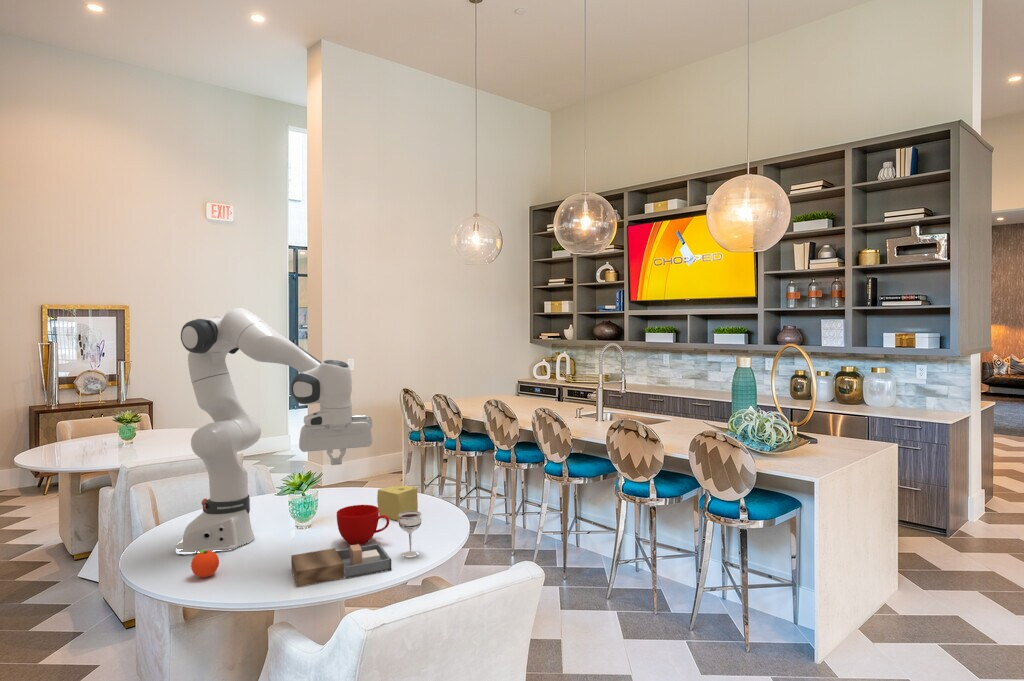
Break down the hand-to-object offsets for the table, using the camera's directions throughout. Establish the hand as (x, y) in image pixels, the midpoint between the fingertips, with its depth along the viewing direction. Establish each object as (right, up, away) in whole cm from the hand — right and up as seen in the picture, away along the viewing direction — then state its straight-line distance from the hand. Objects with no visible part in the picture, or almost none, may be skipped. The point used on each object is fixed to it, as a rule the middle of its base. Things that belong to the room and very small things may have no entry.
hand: (336, 464), depth 177 cm
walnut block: (-3, -28, -9) cm, 30 cm away
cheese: (+10, -28, +43) cm, 52 cm away
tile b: (+6, -25, -5) cm, 26 cm away
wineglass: (+21, -28, +5) cm, 35 cm away
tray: (+9, -28, -3) cm, 30 cm away
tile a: (+10, -25, -2) cm, 27 cm away
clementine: (-34, -29, -9) cm, 45 cm away
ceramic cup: (+4, -28, +16) cm, 33 cm away
